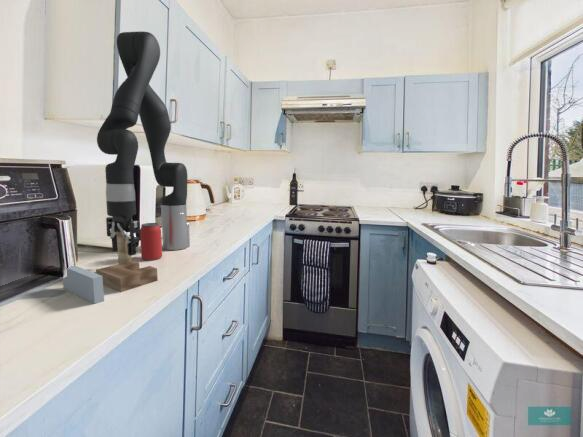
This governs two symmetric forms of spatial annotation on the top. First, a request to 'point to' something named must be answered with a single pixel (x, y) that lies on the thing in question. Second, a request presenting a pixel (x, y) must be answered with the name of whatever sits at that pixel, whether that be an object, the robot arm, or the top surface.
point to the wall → (84, 284)
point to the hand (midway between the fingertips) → (124, 252)
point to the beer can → (151, 241)
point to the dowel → (122, 249)
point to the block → (127, 275)
